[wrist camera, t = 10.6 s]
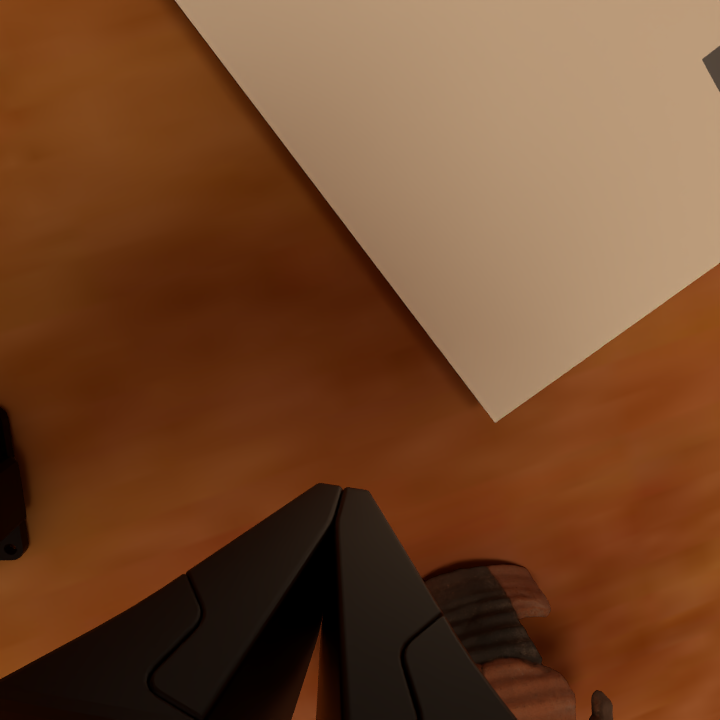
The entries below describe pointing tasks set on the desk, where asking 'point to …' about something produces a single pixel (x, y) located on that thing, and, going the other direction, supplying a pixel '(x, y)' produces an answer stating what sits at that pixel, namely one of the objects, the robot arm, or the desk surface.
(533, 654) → the brown arched piece
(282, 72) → the plate
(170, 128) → the desk surface
